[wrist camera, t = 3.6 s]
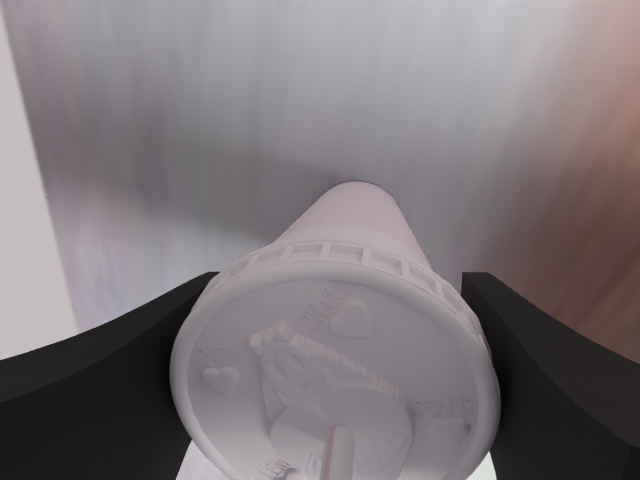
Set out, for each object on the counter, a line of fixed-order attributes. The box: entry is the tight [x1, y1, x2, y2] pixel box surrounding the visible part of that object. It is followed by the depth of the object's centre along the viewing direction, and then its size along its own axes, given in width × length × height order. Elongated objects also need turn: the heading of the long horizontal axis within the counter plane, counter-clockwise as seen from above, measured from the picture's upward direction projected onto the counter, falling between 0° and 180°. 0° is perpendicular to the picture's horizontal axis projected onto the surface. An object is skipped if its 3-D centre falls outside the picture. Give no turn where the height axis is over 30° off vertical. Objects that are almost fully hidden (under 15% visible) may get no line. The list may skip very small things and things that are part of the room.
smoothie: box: [170, 181, 501, 480], centre depth 10 cm, size 6×6×14 cm
